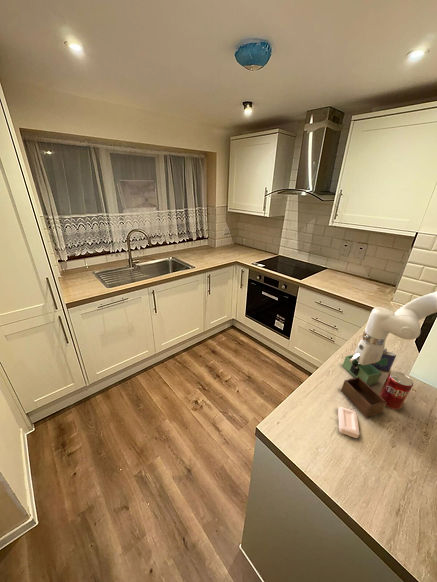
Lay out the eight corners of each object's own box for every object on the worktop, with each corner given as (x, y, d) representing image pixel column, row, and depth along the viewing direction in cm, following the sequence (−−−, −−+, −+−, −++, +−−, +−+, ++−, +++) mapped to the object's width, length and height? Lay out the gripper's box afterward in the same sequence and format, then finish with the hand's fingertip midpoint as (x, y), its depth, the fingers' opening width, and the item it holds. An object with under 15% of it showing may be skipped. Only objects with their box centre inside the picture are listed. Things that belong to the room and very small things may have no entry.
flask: (388, 368, 104) (397, 349, 99) (390, 373, 101) (399, 354, 96) (365, 362, 107) (372, 343, 102) (365, 366, 104) (373, 347, 100)
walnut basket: (340, 390, 92) (344, 380, 89) (355, 386, 94) (359, 376, 91) (366, 417, 82) (371, 406, 79) (381, 412, 83) (386, 402, 81)
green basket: (342, 365, 104) (345, 356, 102) (354, 363, 106) (358, 353, 104) (364, 386, 94) (368, 376, 92) (377, 383, 96) (382, 373, 94)
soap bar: (339, 433, 76) (341, 428, 75) (337, 410, 84) (339, 405, 83) (357, 439, 74) (359, 434, 73) (354, 415, 82) (356, 411, 81)
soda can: (377, 391, 92) (387, 368, 87) (399, 398, 89) (411, 374, 84) (379, 405, 86) (390, 381, 81) (402, 413, 83) (416, 389, 78)
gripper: (364, 347, 86) (351, 382, 94) (399, 339, 91) (383, 374, 99) (348, 335, 93) (337, 369, 100) (382, 329, 97) (368, 361, 105)
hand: (360, 371), depth 99 cm, fingers closed on green basket, 7 cm apart
